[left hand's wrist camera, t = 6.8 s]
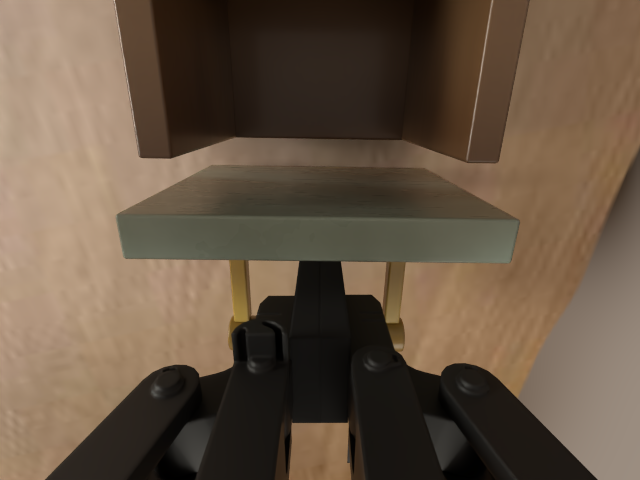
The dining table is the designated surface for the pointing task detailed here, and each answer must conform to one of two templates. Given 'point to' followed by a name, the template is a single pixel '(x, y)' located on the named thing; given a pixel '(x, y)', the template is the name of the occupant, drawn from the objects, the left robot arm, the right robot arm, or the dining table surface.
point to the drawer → (320, 130)
